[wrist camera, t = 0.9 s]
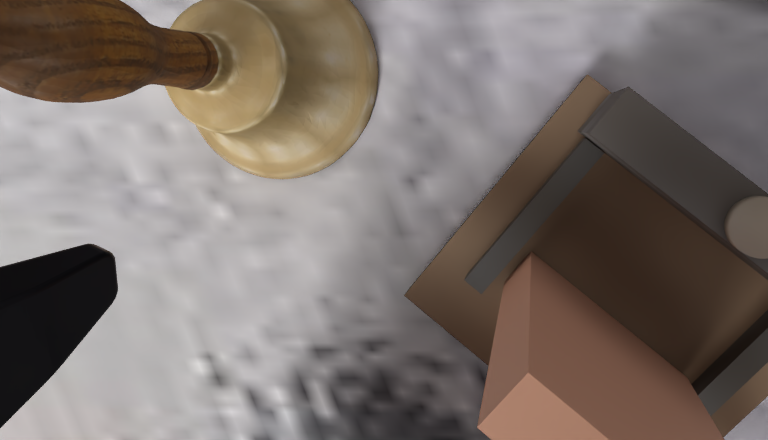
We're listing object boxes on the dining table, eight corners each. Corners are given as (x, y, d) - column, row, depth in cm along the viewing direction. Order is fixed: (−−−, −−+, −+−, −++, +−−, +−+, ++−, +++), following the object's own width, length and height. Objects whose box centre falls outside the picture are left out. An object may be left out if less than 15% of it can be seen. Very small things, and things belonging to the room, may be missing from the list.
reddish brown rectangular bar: (657, 406, 24) (775, 679, 12) (504, 281, 24) (477, 427, 13) (686, 377, 23) (839, 630, 12) (530, 251, 24) (527, 372, 12)
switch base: (647, 485, 26) (686, 610, 19) (409, 287, 27) (368, 342, 20) (857, 287, 23) (986, 353, 16) (584, 76, 24) (604, 59, 17)
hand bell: (411, 14, 25) (214, -160, 10) (333, 210, 27) (64, 327, 11) (223, -61, 26) (-217, -323, 11) (161, 131, 28) (-291, 141, 13)
